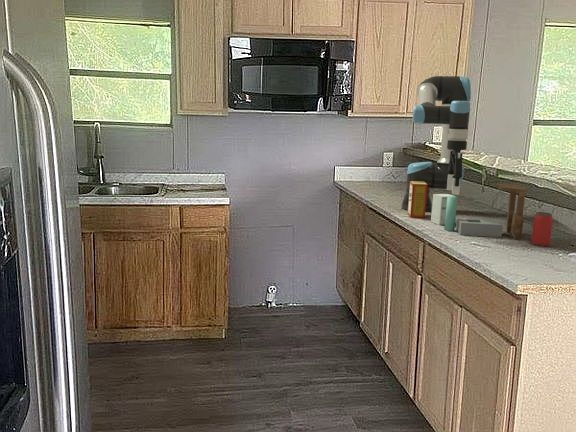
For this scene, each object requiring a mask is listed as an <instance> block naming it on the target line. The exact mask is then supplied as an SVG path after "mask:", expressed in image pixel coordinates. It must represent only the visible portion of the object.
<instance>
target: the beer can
mask: <svg viewBox="0 0 576 432" xmlns="http://www.w3.org/2000/svg"><path fill="white" fill-rule="evenodd" d="M553 223H554V220H553V213H550V212H545V211H544V212H543V211H540V212H539V211H538V212H536V213H535V214H534V218H533V222H532V231H531V238H530V243H531V245H533V246H537V247H538V246H539V247H549V246H550V245H551V238H552V231H553Z"/></svg>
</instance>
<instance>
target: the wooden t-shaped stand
mask: <svg viewBox="0 0 576 432" xmlns="http://www.w3.org/2000/svg"><path fill="white" fill-rule="evenodd" d="M493 186H494V187H495V188H496V189H499V190H500V191H502V192H509V198H508V207H507V217H506V223H505V224H506V227H505V232H506V233H511V235H513V239H514V240H522V239H523V238H522V237H523V228H524V219H523V217H524V216H523V215H524V208H525V198H526V193H527V192H528V188H526V187H524V186H522V185H520V184H518V183H503V182H501V183H500V182H498V183H497V182H494V185H493ZM516 201H517V202H516ZM515 207H516V208H515ZM515 209H516V210H515ZM515 211H516V212H515Z"/></svg>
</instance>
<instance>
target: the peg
mask: <svg viewBox="0 0 576 432" xmlns="http://www.w3.org/2000/svg"><path fill="white" fill-rule="evenodd" d="M455 196H456V195H453V196H447V206H446V217H445V225H444V231H446V232H455V230H456V228H455V227H456V226H455V225H456V219H457V216H456V215H457V207H458V206H457V205H458V204H457V203H458V197H457V196H456V197H455Z"/></svg>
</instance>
